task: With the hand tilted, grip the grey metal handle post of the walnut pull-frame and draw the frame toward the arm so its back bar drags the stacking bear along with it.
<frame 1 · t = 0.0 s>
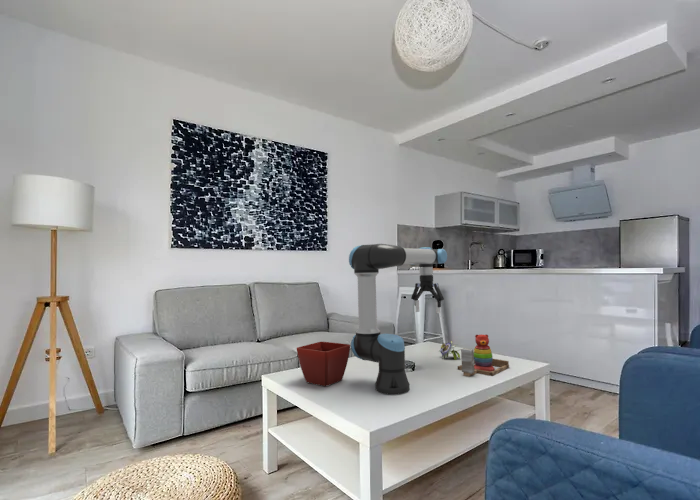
hand: (427, 312, 210), 28 cm above the table, tool pointing down, fingers open, 13 cm apart
stacking bear: (483, 369, 193), resting in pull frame
passion flower: (450, 358, 218), on the table
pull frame: (479, 357, 191), point 7 cm above the table, slide at 12.0 cm
plant pot: (324, 381, 179), on the table
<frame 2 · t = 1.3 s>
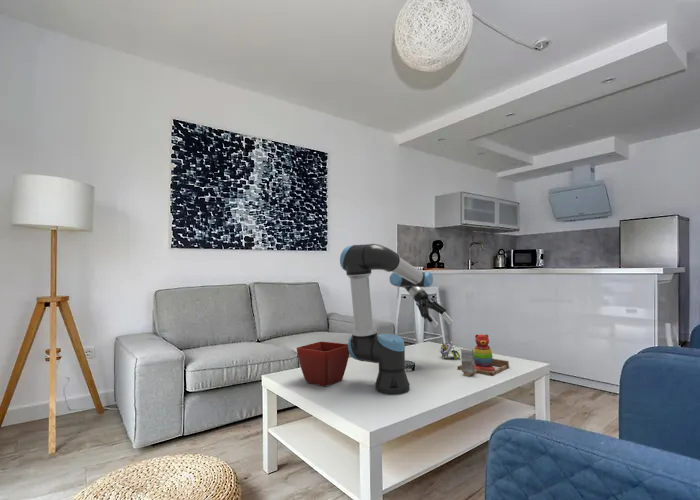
hand: (443, 324, 192), 24 cm above the table, tool tilted 45°, fingers open, 13 cm apart
nothing on the table moved.
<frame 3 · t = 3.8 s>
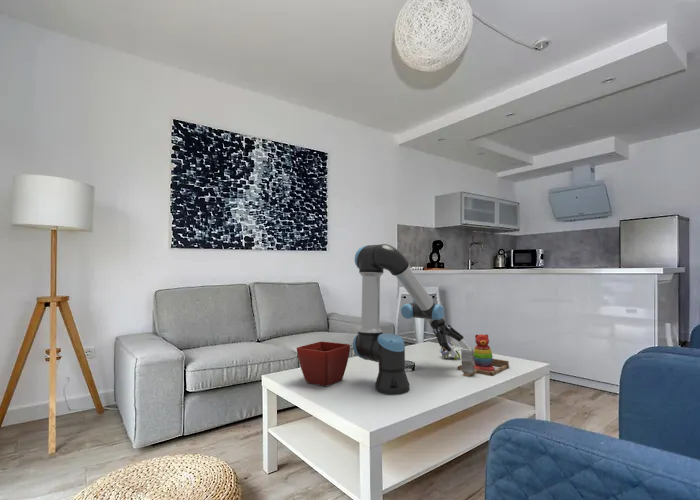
hand: (462, 353, 186), 10 cm above the table, tool tilted 45°, fingers open, 13 cm apart
nothing on the table moved.
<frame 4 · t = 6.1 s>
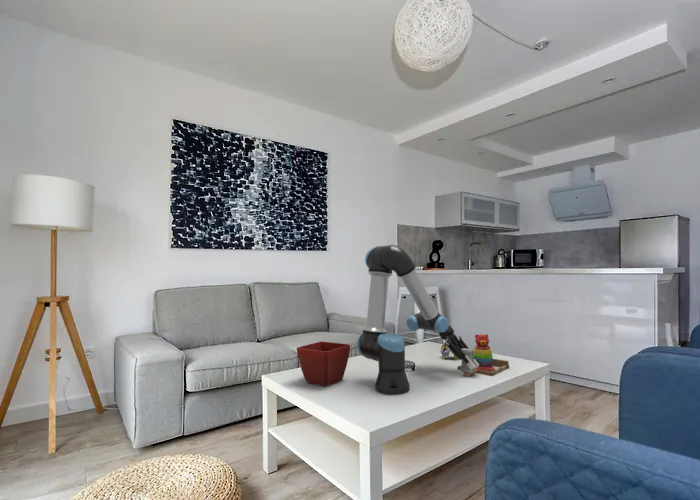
hand: (475, 367, 180), 5 cm above the table, tool tilted 45°, fingers closed on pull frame, 3 cm apart
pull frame: (479, 357, 191), point 7 cm above the table, slide at 12.0 cm, touching gripper
everything else where it was.
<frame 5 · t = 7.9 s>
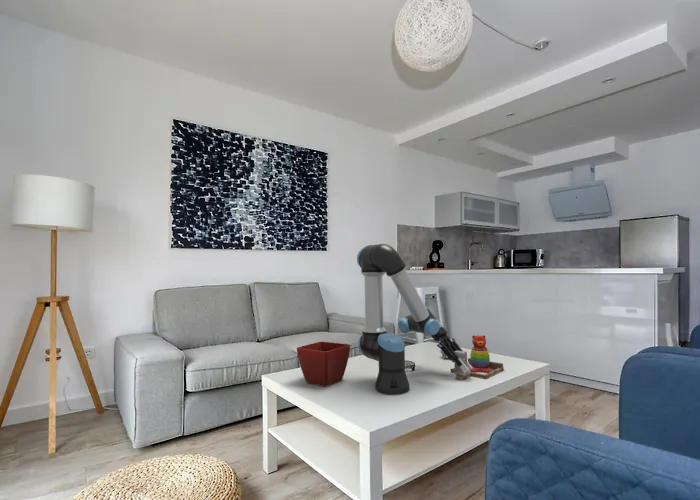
hand: (468, 370, 175), 5 cm above the table, tool tilted 45°, fingers closed on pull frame, 3 cm apart
stacking bear: (480, 371, 191), resting in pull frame
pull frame: (473, 360, 186), point 7 cm above the table, slide at 5.3 cm, touching gripper
everything else where it was.
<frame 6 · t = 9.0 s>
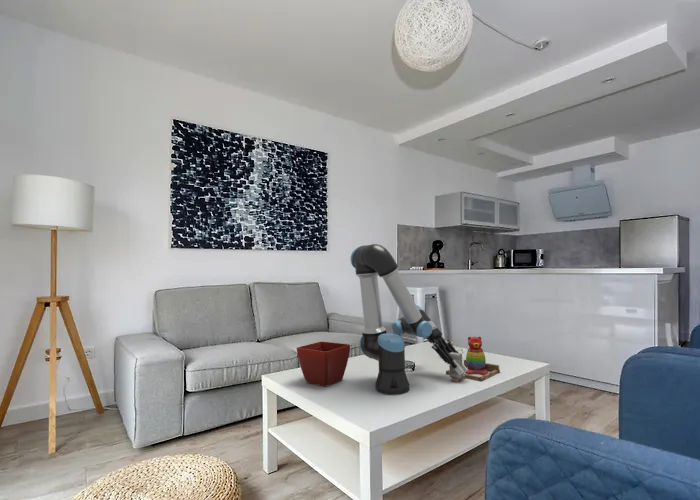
hand: (463, 372, 172), 5 cm above the table, tool tilted 45°, fingers closed on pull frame, 3 cm apart
stacking bear: (476, 373, 188), resting in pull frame
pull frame: (468, 362, 183), point 7 cm above the table, slide at 0.7 cm, touching gripper, stacking bear
everything else where it was.
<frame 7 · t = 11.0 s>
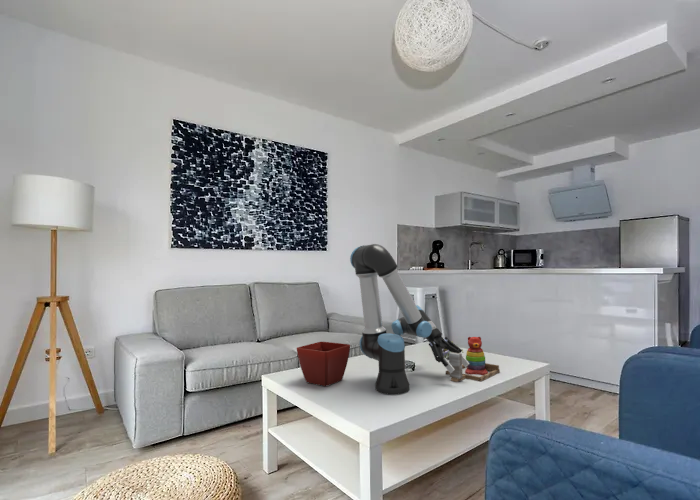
hand: (460, 368, 173), 6 cm above the table, tool tilted 45°, fingers open, 13 cm apart
stacking bear: (476, 373, 187), resting in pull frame
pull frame: (468, 362, 183), point 7 cm above the table, slide at 0.5 cm
everything else where it was.
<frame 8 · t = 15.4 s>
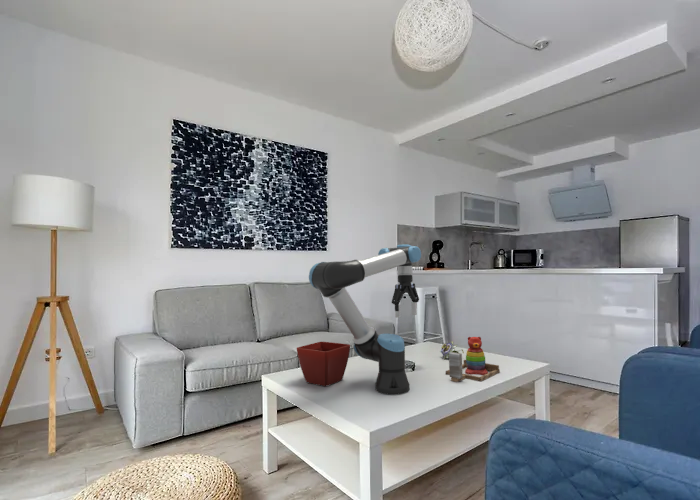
hand: (406, 316, 191), 29 cm above the table, tool pointing down, fingers open, 13 cm apart
nothing on the table moved.
at the end: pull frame slide at 0.5 cm; stacking bear moved 8.3 cm from its start; stacking bear tilted 0° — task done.
